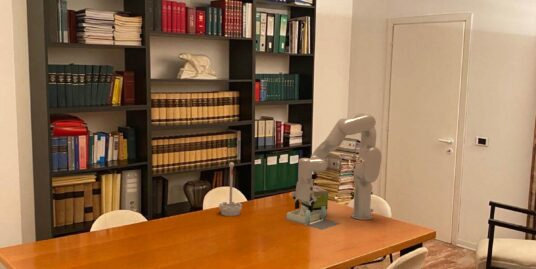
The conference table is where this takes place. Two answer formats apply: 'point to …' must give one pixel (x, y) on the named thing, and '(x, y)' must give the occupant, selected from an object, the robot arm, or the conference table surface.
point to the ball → (302, 213)
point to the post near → (307, 217)
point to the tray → (295, 217)
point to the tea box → (321, 200)
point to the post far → (323, 212)
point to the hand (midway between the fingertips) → (303, 210)
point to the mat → (319, 223)
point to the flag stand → (230, 208)
